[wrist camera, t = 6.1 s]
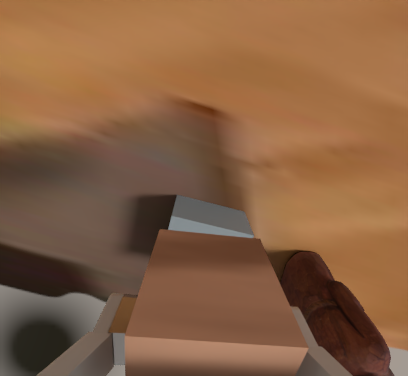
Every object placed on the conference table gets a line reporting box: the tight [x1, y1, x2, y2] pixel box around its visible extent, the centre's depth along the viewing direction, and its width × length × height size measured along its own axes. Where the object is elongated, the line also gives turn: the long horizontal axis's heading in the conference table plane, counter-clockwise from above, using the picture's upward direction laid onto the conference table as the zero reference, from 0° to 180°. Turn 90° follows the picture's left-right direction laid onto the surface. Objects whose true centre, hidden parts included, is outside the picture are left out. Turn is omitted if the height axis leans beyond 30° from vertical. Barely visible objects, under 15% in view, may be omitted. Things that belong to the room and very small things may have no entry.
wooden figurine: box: [280, 252, 394, 376], centre depth 26 cm, size 12×6×18 cm, turn 173°
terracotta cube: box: [125, 229, 309, 376], centre depth 9 cm, size 5×5×5 cm
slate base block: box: [168, 195, 254, 238], centre depth 28 cm, size 10×10×6 cm
